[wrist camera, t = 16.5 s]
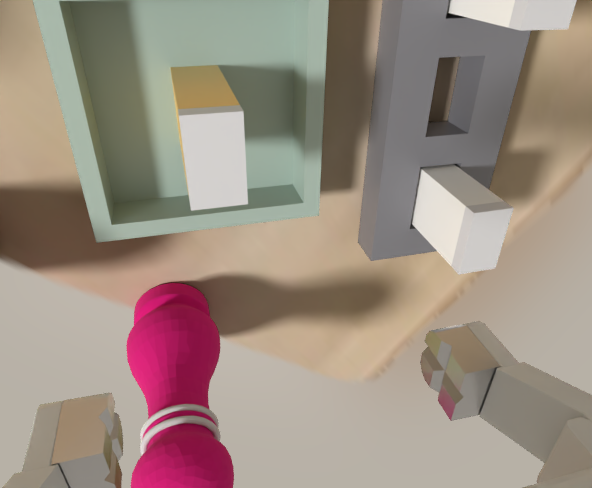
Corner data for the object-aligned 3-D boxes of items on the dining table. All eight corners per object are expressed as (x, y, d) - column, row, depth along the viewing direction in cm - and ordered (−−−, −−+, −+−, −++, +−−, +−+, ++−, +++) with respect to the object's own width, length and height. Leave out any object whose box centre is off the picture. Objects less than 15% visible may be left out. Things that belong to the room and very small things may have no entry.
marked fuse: (170, 67, 30) (178, 115, 21) (217, 64, 30) (243, 111, 22) (179, 142, 32) (190, 210, 24) (223, 139, 33) (248, 204, 25)
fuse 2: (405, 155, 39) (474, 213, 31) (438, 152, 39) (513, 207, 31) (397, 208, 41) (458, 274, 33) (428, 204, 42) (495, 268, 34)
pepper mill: (115, 330, 40) (94, 591, 24) (148, 266, 38) (150, 510, 22) (192, 348, 44) (218, 587, 28) (227, 291, 41) (279, 517, 25)
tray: (40, -31, 26) (25, -27, 23) (309, -31, 29) (329, -27, 26) (101, 214, 34) (96, 242, 31) (304, 191, 38) (318, 215, 35)
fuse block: (397, -143, 27) (421, -151, 25) (541, -134, 30) (576, -141, 27) (358, 242, 42) (370, 260, 40) (456, 228, 44) (474, 245, 42)
